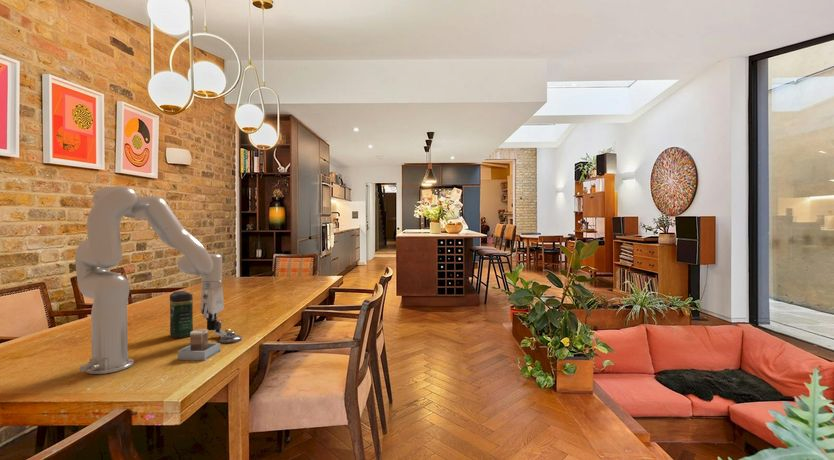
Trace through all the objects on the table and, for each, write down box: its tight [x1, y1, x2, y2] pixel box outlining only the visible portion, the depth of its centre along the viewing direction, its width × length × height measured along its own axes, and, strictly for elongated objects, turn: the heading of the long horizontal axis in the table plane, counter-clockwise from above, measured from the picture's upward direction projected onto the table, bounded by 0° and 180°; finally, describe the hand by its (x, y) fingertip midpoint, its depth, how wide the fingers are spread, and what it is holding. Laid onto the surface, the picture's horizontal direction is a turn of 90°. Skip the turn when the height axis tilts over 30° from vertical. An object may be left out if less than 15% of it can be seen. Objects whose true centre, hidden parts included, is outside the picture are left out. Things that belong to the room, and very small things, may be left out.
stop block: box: [189, 328, 209, 351], centre depth 149 cm, size 4×4×8 cm
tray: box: [177, 342, 221, 361], centre depth 149 cm, size 10×10×3 cm
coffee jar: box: [169, 290, 194, 339], centre depth 173 cm, size 10×8×19 cm
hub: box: [219, 334, 242, 344], centre depth 167 cm, size 8×8×1 cm
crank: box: [213, 318, 236, 338], centre depth 169 cm, size 12×4×6 cm, turn 56°
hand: (211, 329), depth 167 cm, fingers closed
